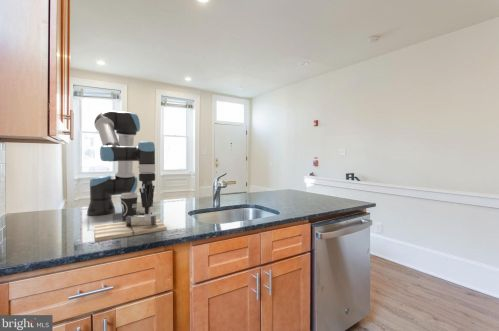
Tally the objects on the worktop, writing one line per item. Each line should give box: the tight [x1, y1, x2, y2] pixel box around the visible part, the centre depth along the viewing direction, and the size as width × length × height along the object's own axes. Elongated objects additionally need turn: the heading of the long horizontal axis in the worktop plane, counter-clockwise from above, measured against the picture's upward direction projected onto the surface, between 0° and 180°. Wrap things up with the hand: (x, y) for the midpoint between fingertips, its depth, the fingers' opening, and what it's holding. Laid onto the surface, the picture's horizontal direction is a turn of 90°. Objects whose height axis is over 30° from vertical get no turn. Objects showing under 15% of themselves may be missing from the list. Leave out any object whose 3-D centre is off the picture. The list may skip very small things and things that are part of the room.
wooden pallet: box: [94, 211, 168, 242], centre depth 122 cm, size 21×30×6 cm
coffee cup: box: [119, 191, 139, 222], centre depth 140 cm, size 10×10×15 cm
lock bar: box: [125, 214, 157, 226], centre depth 124 cm, size 14×4×5 cm, turn 99°
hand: (147, 220), depth 122 cm, fingers closed
